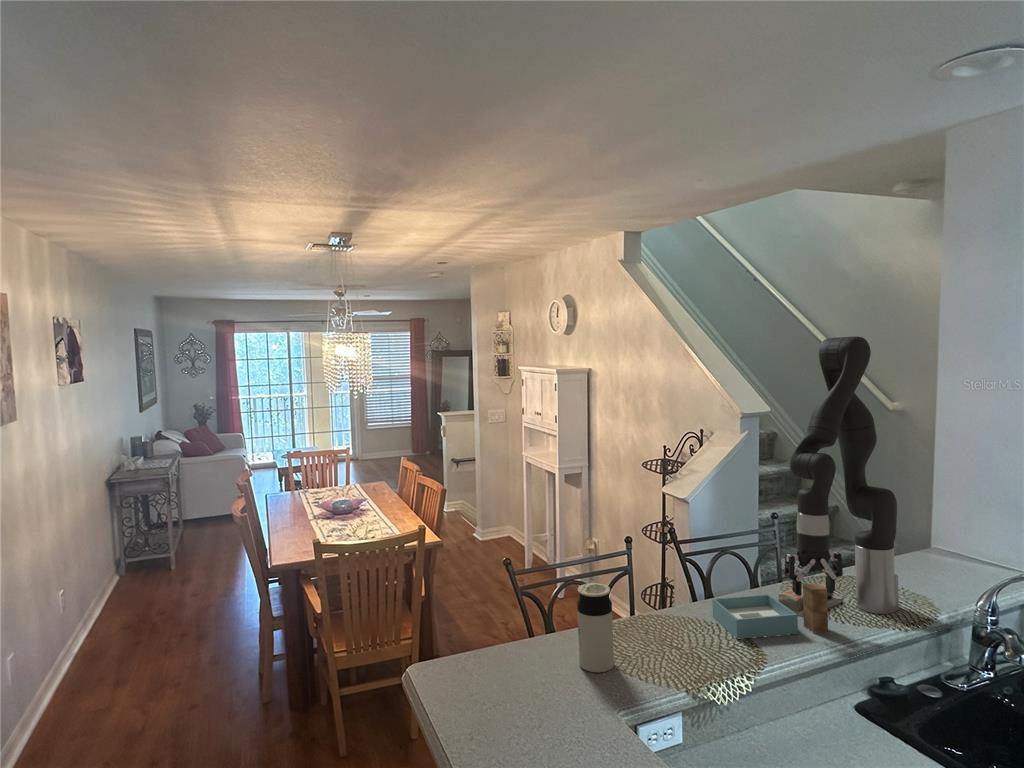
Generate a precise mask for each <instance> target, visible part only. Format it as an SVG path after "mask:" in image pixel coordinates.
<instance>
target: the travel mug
mask: <svg viewBox="0 0 1024 768" xmlns="http://www.w3.org/2000/svg"><path fill="white" fill-rule="evenodd" d="M577 592H578V595H579V598H578V600H577V602H576V604H577V605H576V606H577V609H576V611H577V631H578V632H577V633H578V634H577V635H578V658H579V667H580V668H582V669H583V670H585V671H587V672H589V673H605V672H608V671H610V670H612V669H613V668H614V666H615V653H614V649H615V648H614V631H613V630H614V629H613V627H614V626H613V625H614V624H613V603H612V600H611V598H610V592H611V588H610V587H609V585H606V584H605V583H602V584H601V583H599V582H598V583H597V582H596V583H595V582H592V583H591V582H590V583H584V584H582V585H580V586H578V588H577Z"/></svg>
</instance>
